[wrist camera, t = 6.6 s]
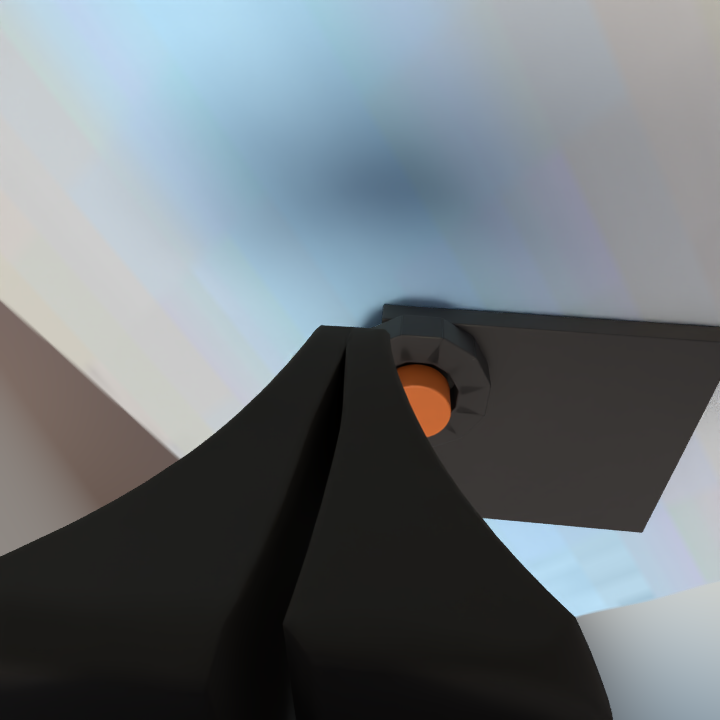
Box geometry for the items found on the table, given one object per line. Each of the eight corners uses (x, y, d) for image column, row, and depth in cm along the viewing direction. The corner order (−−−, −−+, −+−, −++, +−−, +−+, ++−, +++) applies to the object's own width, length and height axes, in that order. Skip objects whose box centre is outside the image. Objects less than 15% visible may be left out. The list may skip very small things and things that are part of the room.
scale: (729, 321, 21) (761, 360, 19) (635, 514, 28) (651, 558, 26) (352, 296, 22) (344, 330, 20) (349, 488, 29) (343, 529, 27)
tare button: (453, 366, 21) (455, 388, 20) (445, 418, 22) (446, 442, 21) (384, 360, 21) (381, 383, 20) (380, 412, 22) (378, 436, 21)
